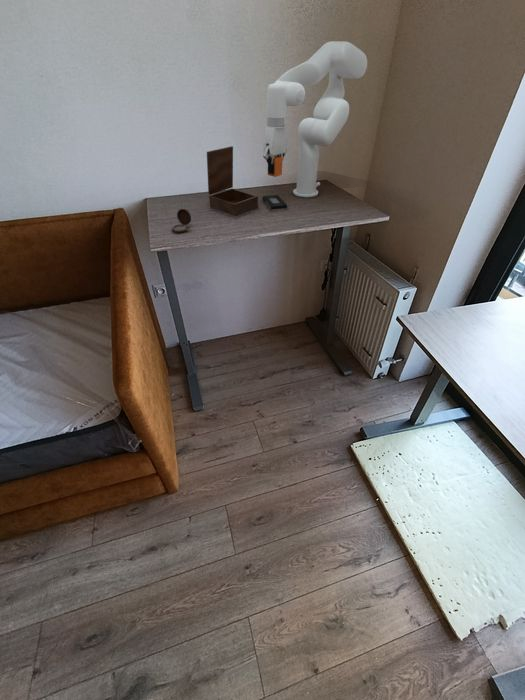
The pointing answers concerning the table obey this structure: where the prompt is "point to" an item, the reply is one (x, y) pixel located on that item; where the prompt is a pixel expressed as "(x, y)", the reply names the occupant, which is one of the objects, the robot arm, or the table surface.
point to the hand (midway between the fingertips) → (274, 171)
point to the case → (233, 202)
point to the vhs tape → (274, 202)
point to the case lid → (220, 169)
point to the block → (277, 166)
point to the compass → (182, 221)
